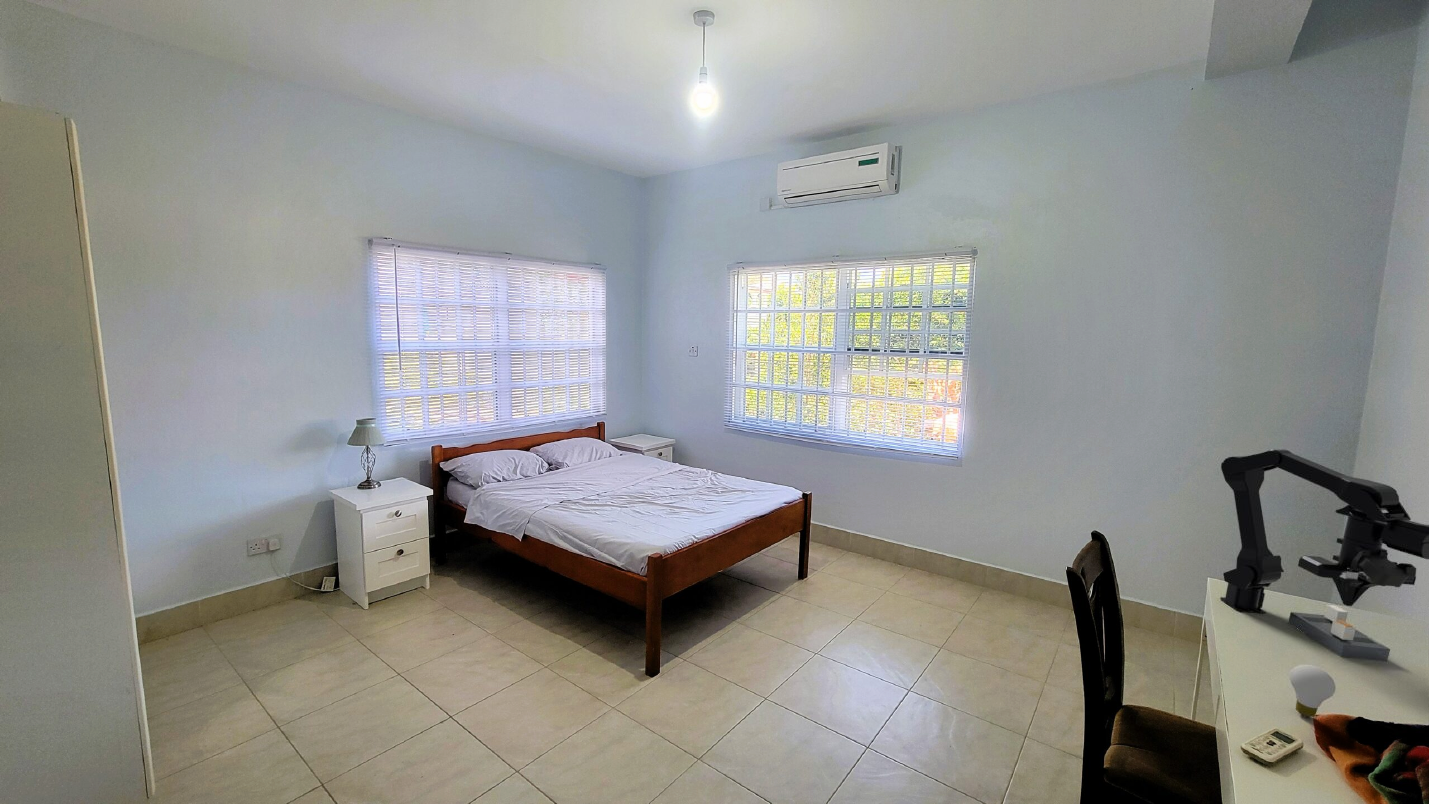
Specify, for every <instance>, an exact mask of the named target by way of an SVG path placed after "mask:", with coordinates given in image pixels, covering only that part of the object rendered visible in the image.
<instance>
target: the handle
mask: <svg viewBox="0 0 1429 804" xmlns="http://www.w3.org/2000/svg"><path fill="white" fill-rule="evenodd" d="M1348 613H1349V612H1348V611H1346V610H1345V609H1344V608H1341V607H1340V606H1338V605H1331V604H1326V607H1325V612H1324V614H1323V615H1324V617H1326V618H1328V619H1330V620H1331V621H1333V620H1341V621H1345V622H1346V623H1347V618H1348Z"/></svg>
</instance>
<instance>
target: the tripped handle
mask: <svg viewBox="0 0 1429 804" xmlns="http://www.w3.org/2000/svg"><path fill="white" fill-rule="evenodd" d="M1355 629H1356V627H1354V626H1353V625H1352V624H1350V623H1348V622H1347V621H1346V622H1345V621H1341V620H1333V623H1332V628H1331V633H1333V634H1334V635H1336V636H1338V637H1339V638H1341V639H1343V640H1353V638H1354V633H1355ZM1356 630H1357V629H1356Z"/></svg>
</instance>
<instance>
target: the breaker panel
mask: <svg viewBox="0 0 1429 804" xmlns="http://www.w3.org/2000/svg"><path fill="white" fill-rule="evenodd" d="M1324 615H1325V614H1318V613H1317V614H1316V613H1304V612H1295V611H1290V613H1289V618H1288V624H1289V623H1290V624H1291V625H1290V624H1289V625H1290V626H1292V625H1293V626H1294V627H1293V626H1292V627H1293V628H1295V627H1296V628H1295V629H1297V628H1298V629H1299V630H1298V629H1297V630H1298V631H1300V630H1301V631H1302V632H1301V631H1300V632H1301V633H1303V632H1304V633H1303V634H1305V636H1308V637H1309V638H1310V639H1313V641H1315V640H1316V641H1315V642H1317V641H1318V642H1319V643H1318V642H1317V643H1318V644H1320V645H1322V646H1323V645H1324V646H1323V647H1324V648H1326V647H1327V648H1326V649H1328V650H1329V649H1330V650H1329V651H1332V652H1333V653H1334V654H1336V655H1338V656H1339V657H1341V658H1351V659H1359V660H1366V661H1367V660H1368V661H1369V660H1370V661H1379V662H1388V661H1389V656H1390V652H1391V648H1389V647H1388V646H1387V645H1386V646H1385V645H1384V644H1382V643H1381V642H1379V641H1377V640H1375V639H1374V638H1372V637H1369V636H1368V635H1367V634H1365V633H1363V632H1361V631H1359V630H1358V629H1355V633H1354V638H1353V640H1343V639H1341V638H1339V637H1338V636H1336V635H1334V634H1333V633H1331V628H1332V623H1333V621H1331V620H1330V619H1328V618H1326V617H1324Z"/></svg>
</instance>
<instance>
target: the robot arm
mask: <svg viewBox="0 0 1429 804" xmlns="http://www.w3.org/2000/svg"><path fill="white" fill-rule="evenodd" d="M1220 464H1221V465H1220V468H1221V472H1222V475H1223V478H1224V481H1225V482H1226V483H1227V485H1228V487H1229V488H1230V489H1231V490H1232V492H1233V497H1234V504H1235V510H1236V517H1237V524H1238V529H1239V530H1238V531H1239V536H1240V537H1239V538H1240V543H1241V544H1240V545H1241V548H1240V550H1239V552H1238V555H1237V556H1236V561H1235V562H1236V565H1235V566H1236V567H1235V568H1234V569H1230V570H1228V571H1225V572H1223V573H1222V575H1223V580H1224V582H1225V583H1227V588H1226V592H1225V597H1223V596H1220V598H1219V599H1220V600H1221V601H1222V602H1224V603H1225V604H1227V605H1229V606H1230V607H1231V608H1232V609H1234V610H1236V611H1238V612H1244V613H1245V612H1247V613H1256V614H1266V611H1265V610H1264V609H1262V608H1263V605H1264V602H1265V601H1264V600H1265V597H1266V596H1265V595H1266V594H1265V593H1266V592H1265V587H1266V588H1268V587H1270V586H1271V584H1272V583H1273V584H1274V583H1276V582H1277V581H1279V580H1280V579H1281V577H1282V573H1284V572H1285V571H1284V569H1283V566H1282V557H1281V555H1279V554H1278V555H1277V554H1275V555H1274V554H1273V552H1272V551H1271V550H1270V549H1269V547H1268V540H1267V535H1266V528H1265V522H1264V515H1263V510H1262V509H1263V508H1262V502H1261V497H1260V495H1261V494H1260V490H1261V488H1262V485H1263V483H1264V481H1265V472H1268V471H1272V470H1275V469H1277V468H1278V469H1280V470H1283V471H1285V472H1287V473H1290V474H1291V475H1293V476H1297V477H1299V478H1300V479H1303V480H1305V481H1308V482H1309V483H1313V484H1314V485H1316V486H1319V487H1320V488H1321V487H1322V488H1324V489H1325V490H1328V491H1330V492H1331V493H1332V494H1334V495H1335V496H1336V497H1337V498H1338V499H1339V500H1340V501H1342V502H1344V504H1347V505H1345V506H1344V507H1341V508H1339V509H1336V510H1335V511H1334V513H1336V514H1339V515H1342V516H1346V517H1347V521H1346V524H1345V528H1344V532H1343V535H1342V536H1343V537H1342V538H1341V537H1337V538H1336V543H1338V544H1340V550H1339V554H1338V555H1337V554H1336V555H1335V554H1333V555H1332V560H1333V561H1335V562H1333V561H1330V560H1328V559H1327V558H1325V557H1322V556H1313V555H1303V556H1300V557H1299V560H1298V563H1297V566H1298V567H1299V568H1301V569H1303V570H1305V571H1306V572H1309V573H1311V574H1313V575H1315V576H1317V577H1320V578H1326V579H1327V578H1328V579H1332V581H1333V583H1334V584H1335V587H1336V590H1337V592H1338V594H1339V597H1340V599H1341V602H1342V604H1343V605H1344V606H1347V607H1352V606H1354V604H1355V603H1356V602H1357V601H1358V600H1359V598H1360V597H1362V596H1363V594H1364V593H1365V592H1367V590H1368V589H1370V588H1372V587H1377V586H1380V587H1386V586H1388V587H1395V588H1401V586H1402V585H1409V586H1410V585H1411V586H1414V585H1415V583H1416V579H1417V576H1416V575H1417V567H1416V566H1414V565H1413V564H1412V563H1405V562H1397V561H1391V560H1389V558H1388V554H1389V552H1388V550H1387V549H1385V548H1383V544H1384V545H1385V546H1386V547H1387V548H1389V549H1392V550H1395V551H1398V552H1402V553H1404V554H1407V555H1412V556H1415V557H1418V558H1421V559H1425V560H1429V524H1424V523H1420V522H1416V521H1412V520H1411V517H1410V515H1409V514H1408V512H1407V511H1406V509H1405V508H1404V506H1403V505H1402V503H1401V502H1400V496H1399V494H1398V493H1397V492H1398V491H1397V490H1396V489H1395V488H1394V487H1392V486H1390V485H1387V484H1385V483H1381V482H1377V481H1374V480H1370V479H1365V478H1359V477H1353V476H1350V475H1346V474H1343V473H1341V472H1338V471H1337V470H1335V469H1332V468H1329V467H1326V466H1324V465H1323V464H1320V463H1317V462H1315V461H1312V460H1310V459H1307V458H1305V457H1302V456H1301V455H1298V454H1295V453H1292V452H1291V451H1289V450H1288V449H1285V448H1283V449H1269V450H1267V451H1263V452H1260V453H1259V452H1258V453H1255V454H1250V455H1246V456H1245V455H1244V456H1243V455H1241V456H1240V455H1239V456H1238V455H1237V456H1228V457H1227V458H1225V459H1224V460H1223V461H1222V462H1221V463H1220ZM1383 511H1386V512H1383Z"/></svg>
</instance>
